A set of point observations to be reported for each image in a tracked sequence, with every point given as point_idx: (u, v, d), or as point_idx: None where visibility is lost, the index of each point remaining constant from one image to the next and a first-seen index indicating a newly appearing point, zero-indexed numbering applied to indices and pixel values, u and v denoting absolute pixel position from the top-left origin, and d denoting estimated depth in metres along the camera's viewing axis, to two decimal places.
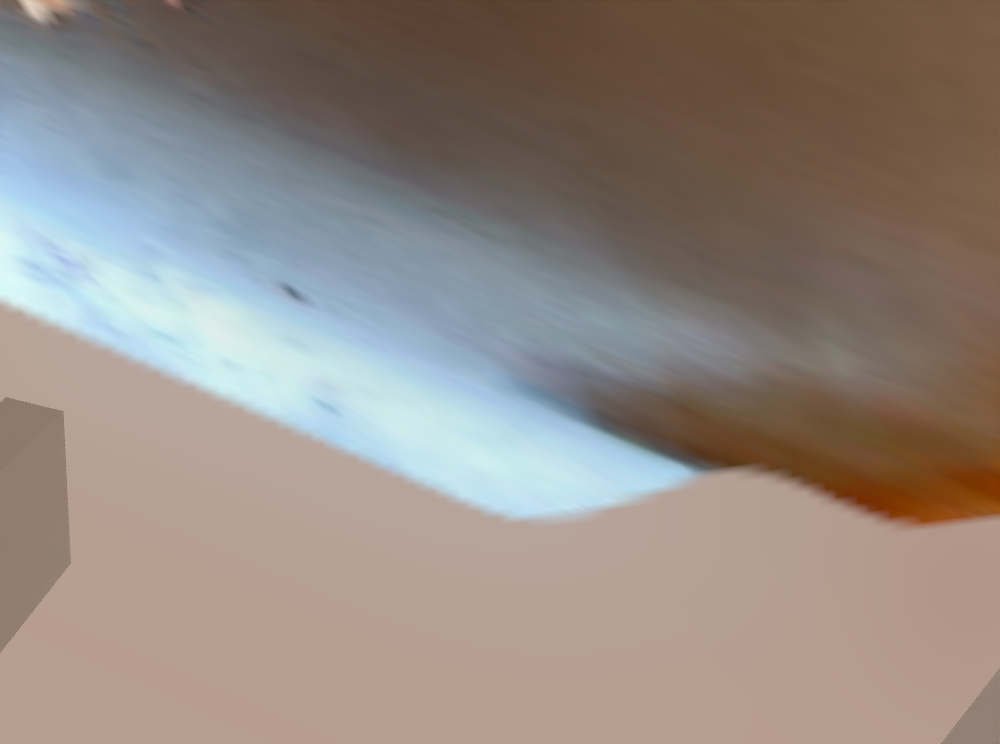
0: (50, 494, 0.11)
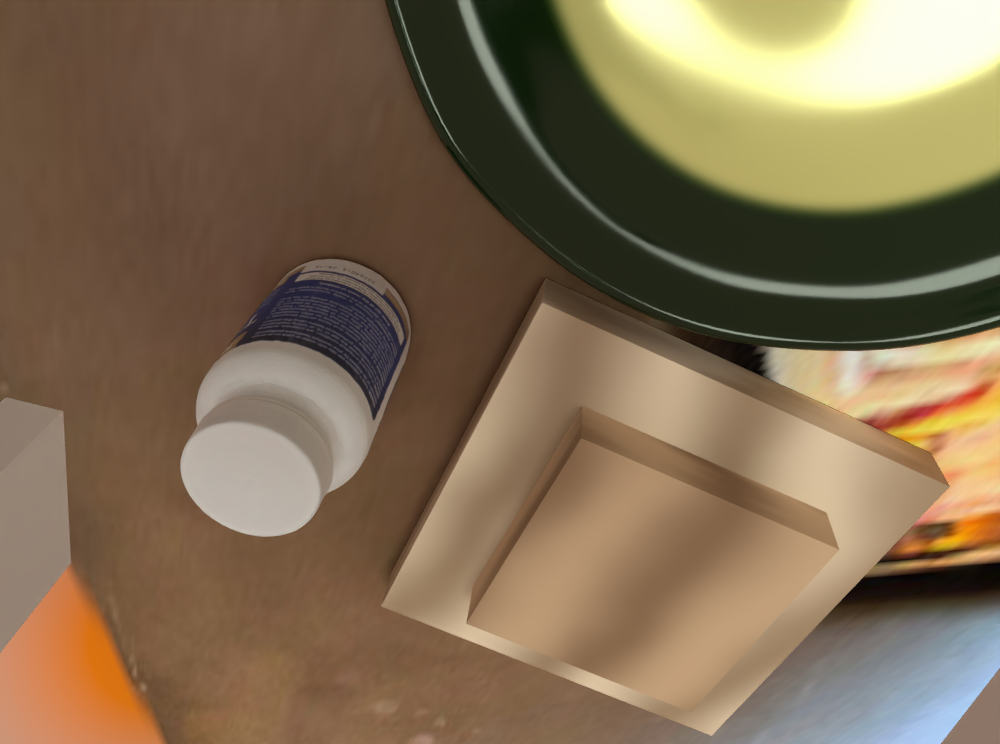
0: (50, 494, 0.11)
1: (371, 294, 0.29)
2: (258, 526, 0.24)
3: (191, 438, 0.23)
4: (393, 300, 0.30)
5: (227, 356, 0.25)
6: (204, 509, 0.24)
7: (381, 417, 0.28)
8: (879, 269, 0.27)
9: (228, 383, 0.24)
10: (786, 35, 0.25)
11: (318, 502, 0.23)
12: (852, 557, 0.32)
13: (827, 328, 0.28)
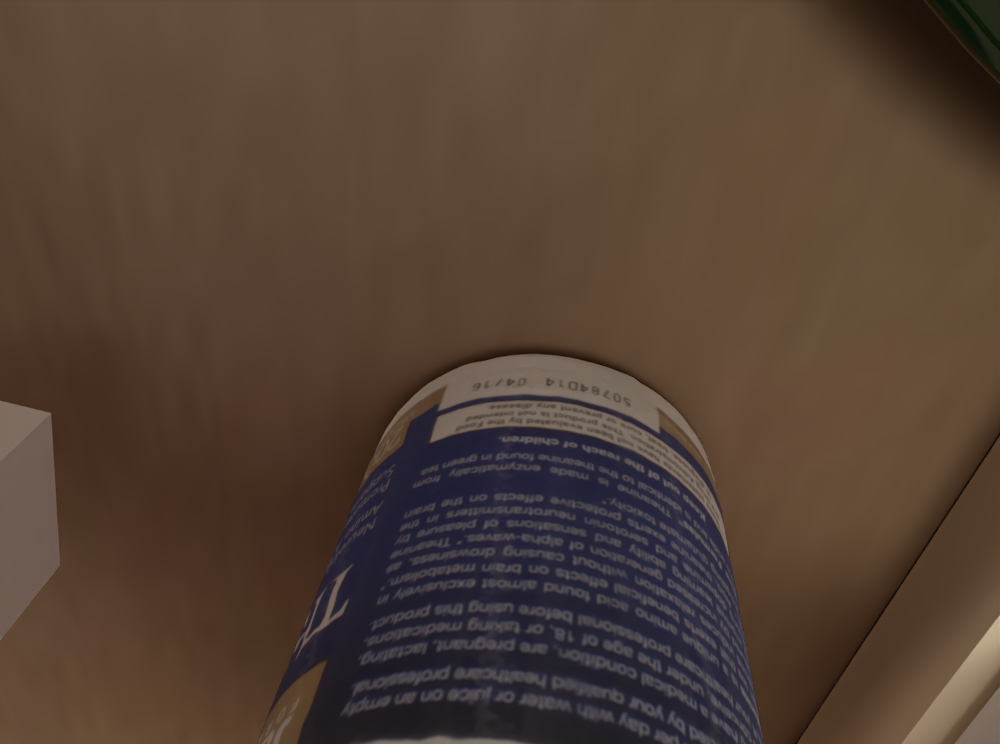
0: (38, 497, 0.11)
1: (637, 439, 0.11)
2: None
3: None
4: (681, 436, 0.11)
5: None
6: None
7: None
8: None
9: None
10: None
11: None
12: None
13: None
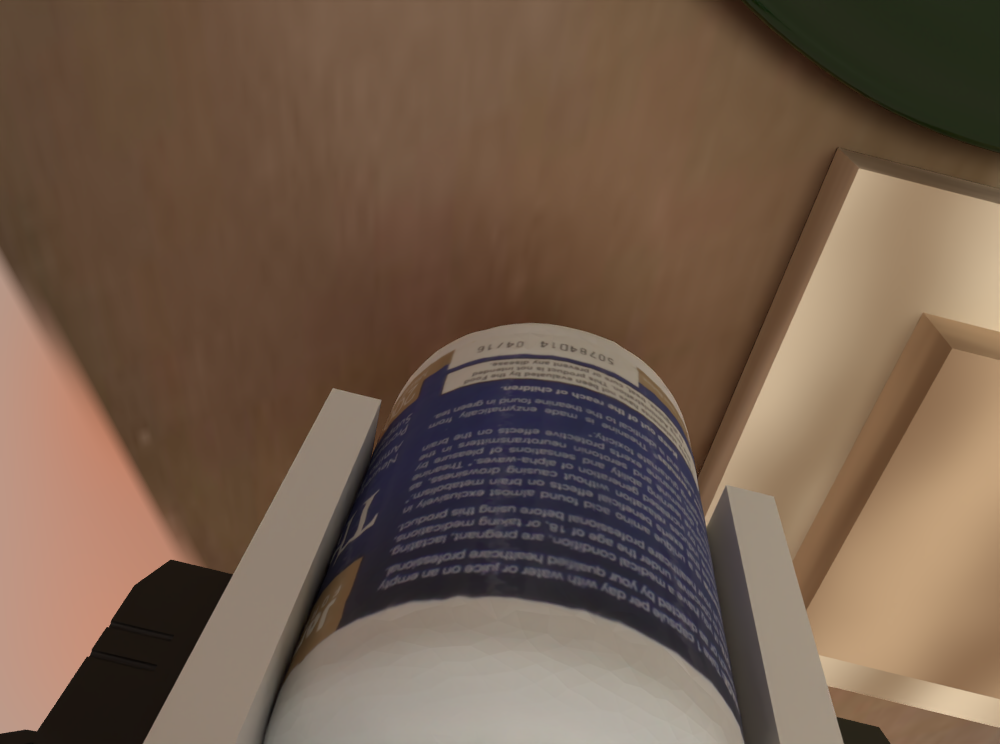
0: (365, 471, 0.13)
1: (619, 390, 0.12)
2: None
3: None
4: (658, 392, 0.13)
5: (323, 665, 0.08)
6: None
7: None
8: None
9: None
10: None
11: None
12: None
13: None
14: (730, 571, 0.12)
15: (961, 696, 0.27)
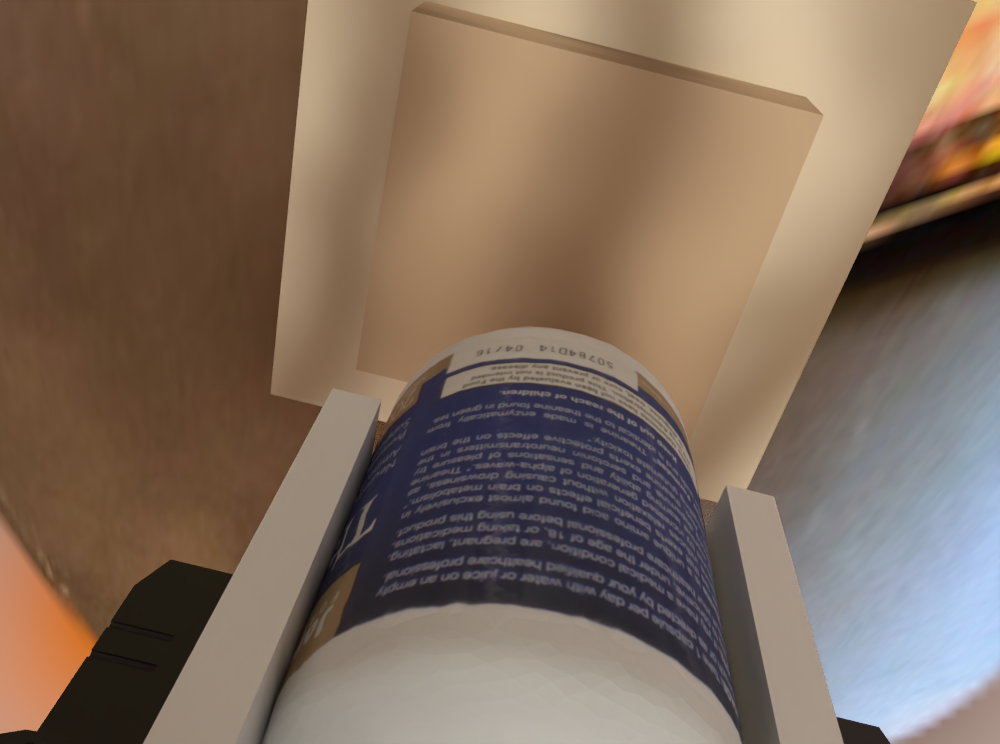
0: (365, 471, 0.13)
1: (618, 394, 0.12)
2: None
3: None
4: (657, 396, 0.13)
5: (320, 672, 0.08)
6: None
7: None
8: None
9: None
10: None
11: None
12: (862, 167, 0.22)
13: None
14: (730, 570, 0.12)
15: None
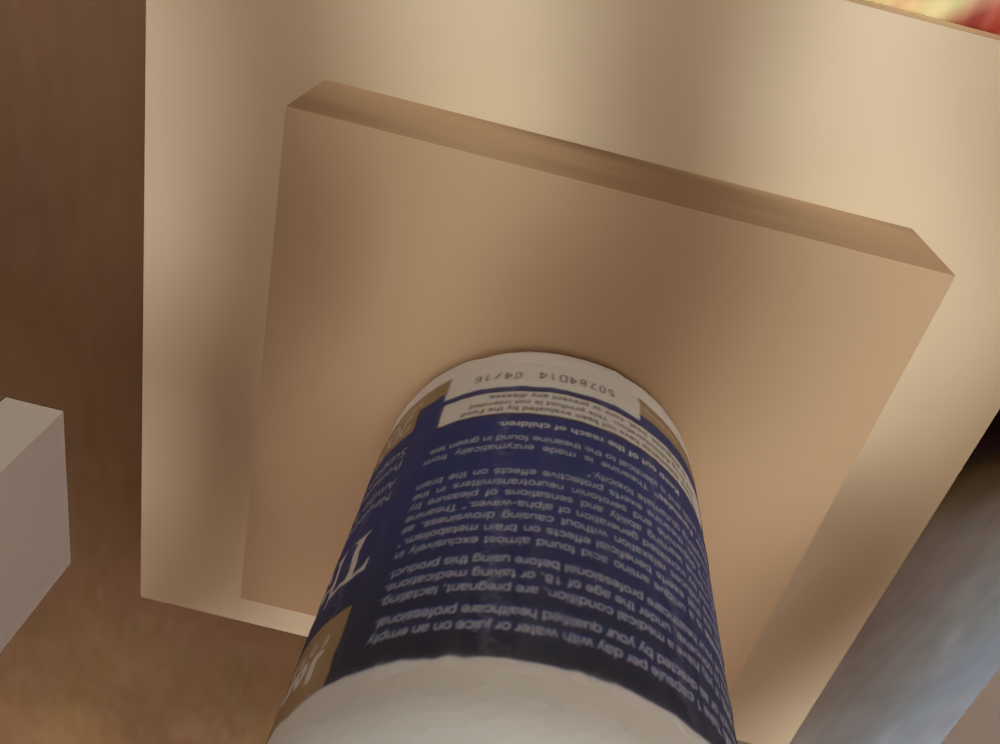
0: (50, 494, 0.11)
1: (619, 425, 0.12)
2: None
3: None
4: (660, 424, 0.13)
5: (308, 725, 0.08)
6: None
7: None
8: None
9: None
10: None
11: None
12: (992, 329, 0.15)
13: None
14: None
15: None
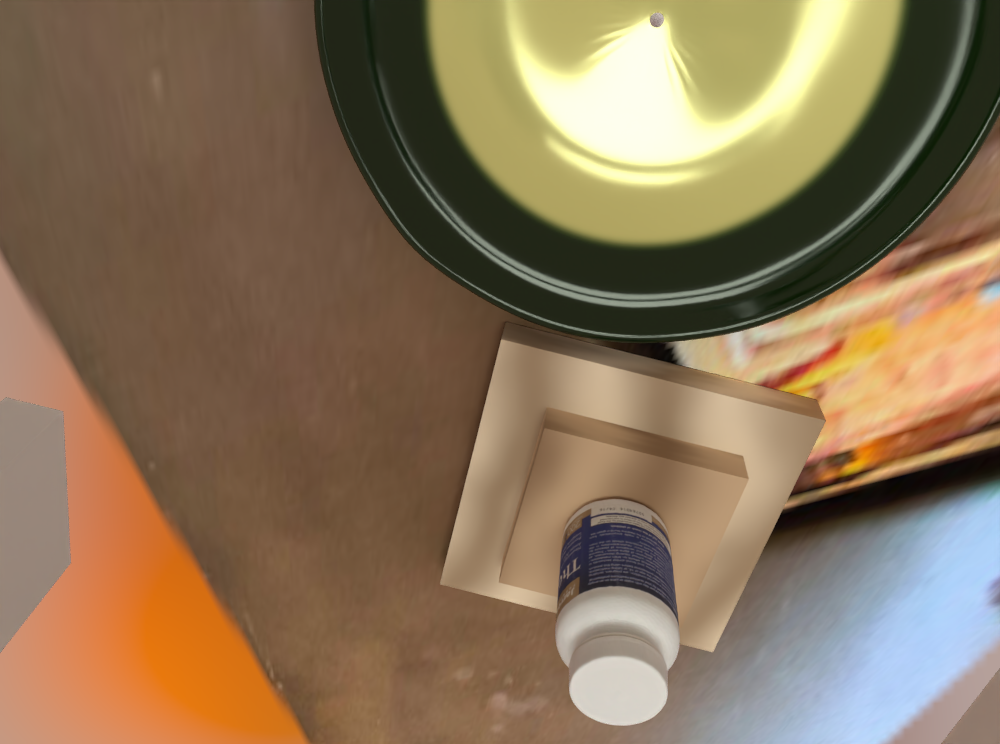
0: (50, 494, 0.11)
1: (645, 525, 0.40)
2: (623, 719, 0.35)
3: (578, 669, 0.34)
4: (658, 523, 0.41)
5: (577, 602, 0.36)
6: (585, 712, 0.35)
7: None
8: (728, 275, 0.39)
9: (584, 622, 0.36)
10: (620, 135, 0.37)
11: (666, 699, 0.34)
12: (773, 487, 0.43)
13: (701, 322, 0.39)
14: None
15: None
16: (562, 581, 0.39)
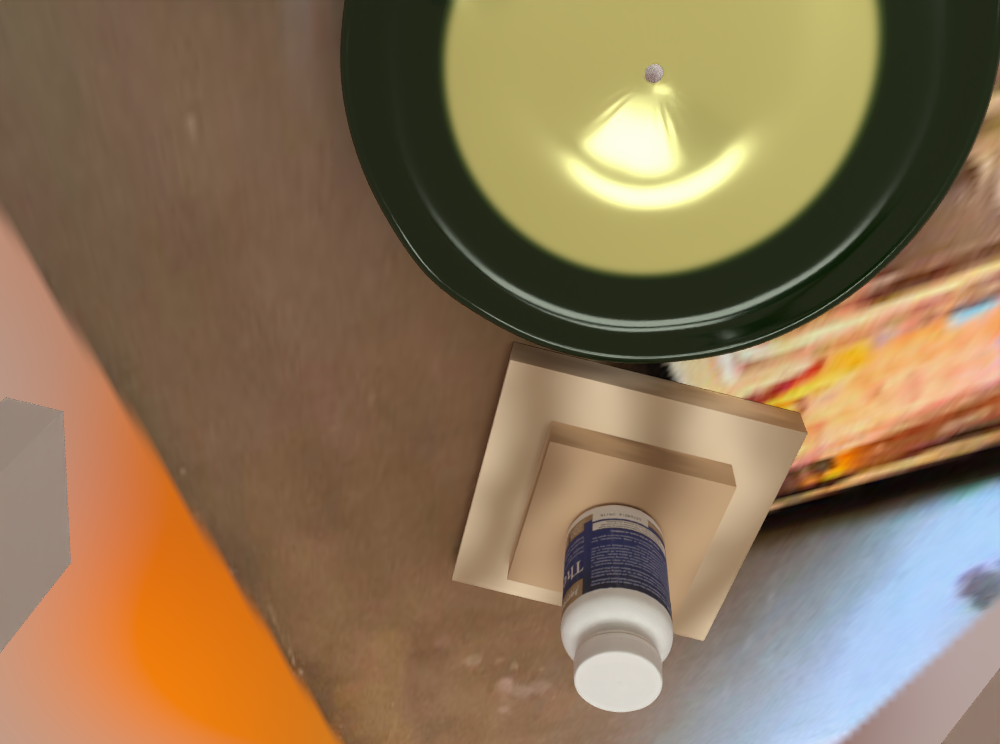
0: (50, 494, 0.11)
1: (642, 530, 0.44)
2: (622, 706, 0.39)
3: (582, 663, 0.38)
4: (653, 527, 0.45)
5: (581, 602, 0.40)
6: (588, 701, 0.39)
7: None
8: (718, 302, 0.42)
9: (586, 620, 0.39)
10: (619, 177, 0.40)
11: (660, 689, 0.38)
12: (759, 493, 0.47)
13: (693, 345, 0.43)
14: None
15: None
16: (567, 581, 0.42)
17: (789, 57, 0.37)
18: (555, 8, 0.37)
